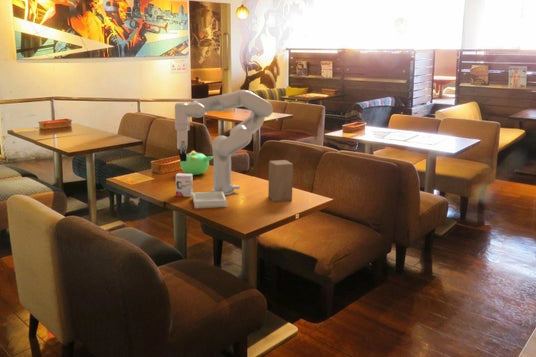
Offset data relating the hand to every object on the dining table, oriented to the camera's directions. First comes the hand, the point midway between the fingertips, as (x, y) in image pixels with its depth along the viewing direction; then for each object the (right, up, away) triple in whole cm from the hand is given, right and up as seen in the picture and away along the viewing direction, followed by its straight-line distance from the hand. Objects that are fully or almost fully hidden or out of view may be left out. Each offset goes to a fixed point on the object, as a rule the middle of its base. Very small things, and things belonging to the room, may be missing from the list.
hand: (182, 159), depth 266 cm
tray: (+15, -23, -6) cm, 28 cm away
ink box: (0, -20, +5) cm, 21 cm away
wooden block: (+51, -21, +3) cm, 56 cm away
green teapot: (-1, -8, +50) cm, 50 cm away
